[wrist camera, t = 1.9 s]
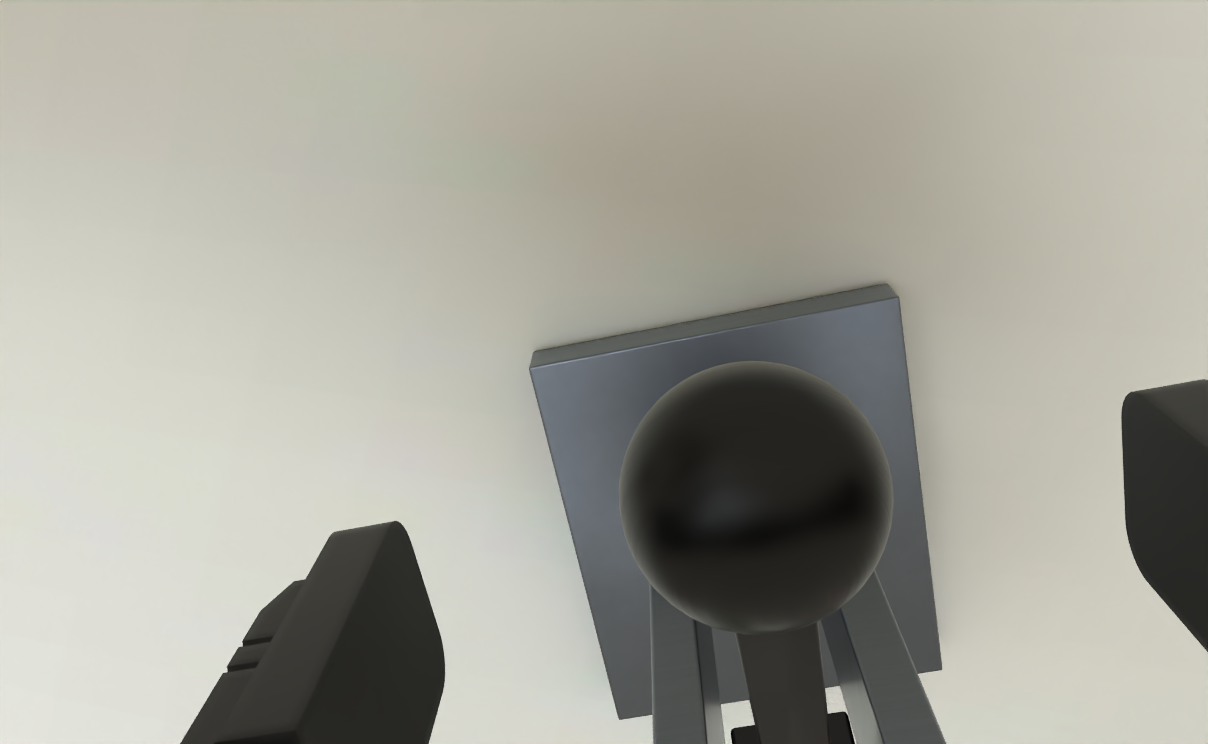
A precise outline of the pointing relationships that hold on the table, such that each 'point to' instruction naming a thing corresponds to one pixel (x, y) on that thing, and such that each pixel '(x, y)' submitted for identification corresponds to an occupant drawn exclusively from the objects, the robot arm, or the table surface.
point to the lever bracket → (667, 635)
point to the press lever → (760, 525)
